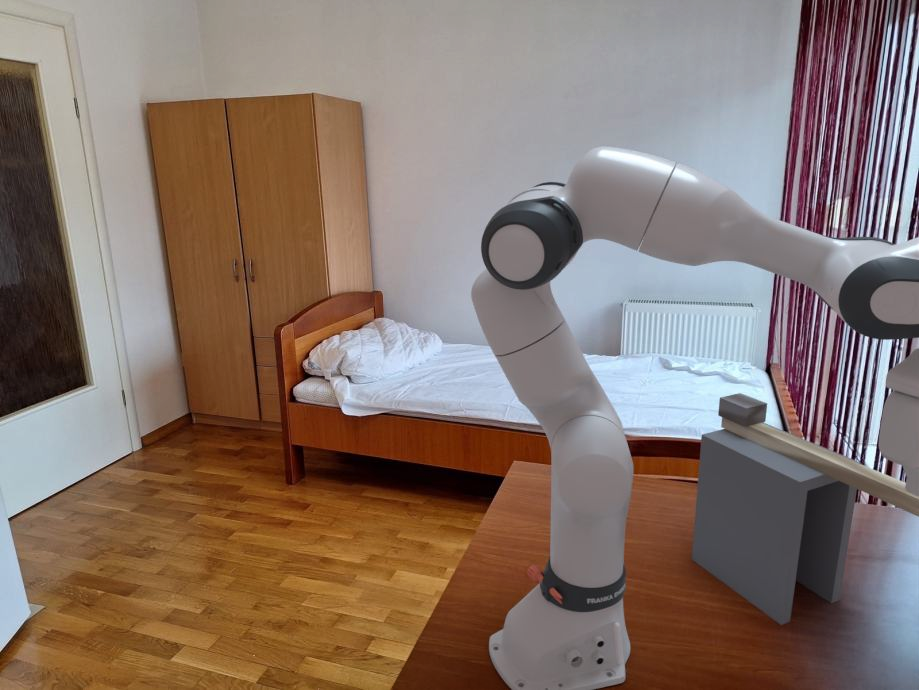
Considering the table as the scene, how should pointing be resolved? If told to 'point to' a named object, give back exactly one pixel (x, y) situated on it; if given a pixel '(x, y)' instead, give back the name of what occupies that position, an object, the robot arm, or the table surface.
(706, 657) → the table surface
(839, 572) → the charcoal shelf
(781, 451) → the birch beam
